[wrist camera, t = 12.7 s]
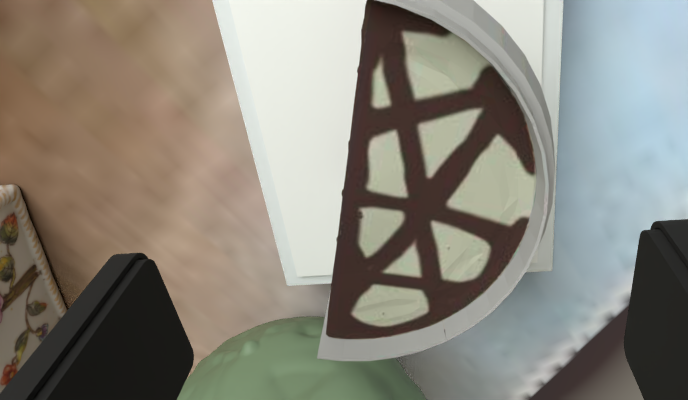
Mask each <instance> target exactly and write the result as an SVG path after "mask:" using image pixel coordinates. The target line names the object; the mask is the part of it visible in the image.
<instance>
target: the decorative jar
mask: <svg viewBox="0 0 688 400" xmlns="http://www.w3.org/2000/svg"><path fill="white" fill-rule="evenodd" d="M66 312H67V308H66V306H65V304H64V301H63V299H62V297H61V294H60V292H59V289H58V287H57V285H56V282H55V280H54V278H53V276H52V274H51V271H50V268H49V264H48V262H47V259H46V256H45V254H44V251H43V249H42V246H41V244H40V241H39V239H38V236H37V234H36V231H35V229H34V227H33V224H32V222H31V220H30V217H29V214H28V211H27V208H26V204H25V202H24V200H23V198H22V195H21V191H20V188H19V187H18V186H17V185H13V184H11V185H0V393H1V392H2V390H3V389H4V388H5V387H6V385H7V384H8V383H9V382H10V381H11V379H12V378H13V377H14V376H15V374H16V373H17V372H18V371H19V369H20V368H21V367H22V366H23V365H24V363H25V362H26V361H27V360H28V358H29V357H30V356H31V355H32V353H33V352H34V351H35V350H36V349H37V347H38V346H39V345H40V344H41V342H42V341H43V340H44V339H45V337H46V336H47V335H48V334H49V333H50V331H51V330H52V329H53V328H54V326H55V325H56V324H57V323H58V321H59V320H60V319H61V318H62V317H63V315H64V314H65V313H66Z"/></svg>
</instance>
